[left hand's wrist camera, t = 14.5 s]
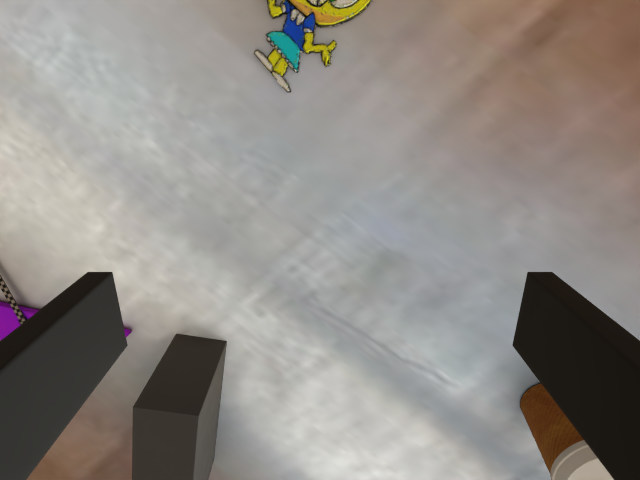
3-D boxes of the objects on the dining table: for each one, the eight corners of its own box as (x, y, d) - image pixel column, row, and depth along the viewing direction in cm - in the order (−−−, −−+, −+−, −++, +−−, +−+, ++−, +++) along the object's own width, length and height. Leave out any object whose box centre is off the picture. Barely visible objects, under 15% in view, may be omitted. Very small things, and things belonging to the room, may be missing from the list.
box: (176, 333, 49) (132, 407, 37) (226, 341, 49) (198, 416, 38) (169, 454, 56) (131, 547, 45) (213, 460, 56) (187, 553, 45)
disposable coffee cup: (570, 361, 50) (643, 439, 39) (588, 413, 53) (660, 500, 42) (498, 388, 51) (547, 471, 40) (519, 437, 54) (571, 527, 43)
